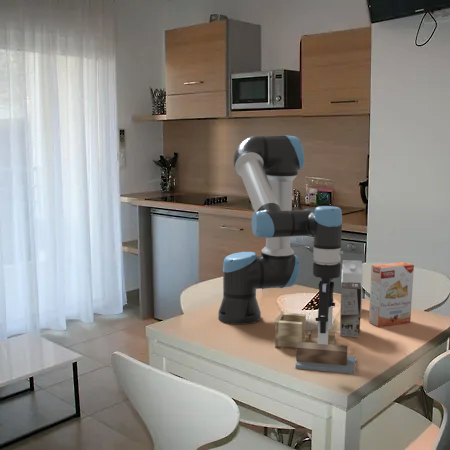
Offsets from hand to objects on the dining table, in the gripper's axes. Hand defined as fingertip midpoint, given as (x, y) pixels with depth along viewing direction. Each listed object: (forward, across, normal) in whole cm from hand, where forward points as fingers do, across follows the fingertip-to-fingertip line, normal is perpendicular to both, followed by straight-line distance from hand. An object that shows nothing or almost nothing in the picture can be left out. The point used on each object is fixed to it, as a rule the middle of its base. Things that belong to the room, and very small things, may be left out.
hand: (325, 335), depth 167 cm
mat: (+8, 0, 0) cm, 8 cm away
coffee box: (+8, +30, -6) cm, 32 cm away
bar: (+7, 0, +1) cm, 7 cm away
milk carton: (+8, +56, -4) cm, 57 cm away
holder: (+8, +15, +7) cm, 19 cm away
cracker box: (+8, +44, -18) cm, 48 cm away
